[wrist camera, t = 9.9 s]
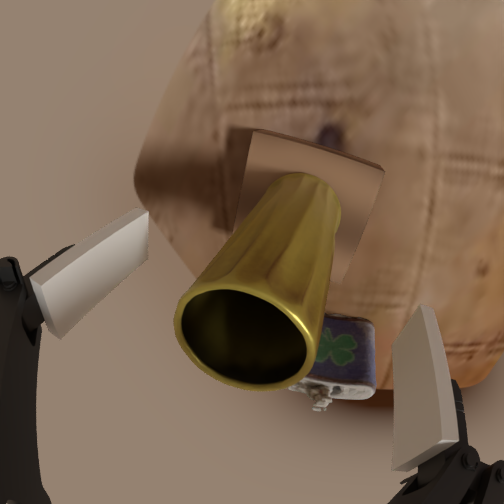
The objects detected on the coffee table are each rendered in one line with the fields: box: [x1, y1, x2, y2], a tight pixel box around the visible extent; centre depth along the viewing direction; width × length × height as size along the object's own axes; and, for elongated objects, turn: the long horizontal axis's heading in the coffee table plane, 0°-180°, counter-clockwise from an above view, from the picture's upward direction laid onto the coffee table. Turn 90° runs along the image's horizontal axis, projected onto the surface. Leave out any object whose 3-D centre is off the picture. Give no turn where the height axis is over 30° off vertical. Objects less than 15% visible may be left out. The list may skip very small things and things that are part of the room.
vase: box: [174, 173, 341, 391], centre depth 15 cm, size 6×6×14 cm
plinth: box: [232, 129, 385, 284], centre depth 23 cm, size 10×10×3 cm
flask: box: [287, 312, 376, 411], centre depth 24 cm, size 9×3×11 cm, turn 88°
